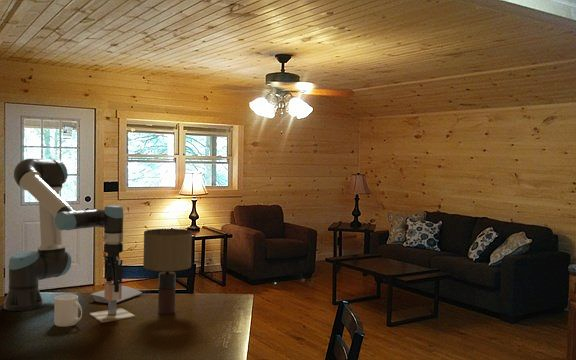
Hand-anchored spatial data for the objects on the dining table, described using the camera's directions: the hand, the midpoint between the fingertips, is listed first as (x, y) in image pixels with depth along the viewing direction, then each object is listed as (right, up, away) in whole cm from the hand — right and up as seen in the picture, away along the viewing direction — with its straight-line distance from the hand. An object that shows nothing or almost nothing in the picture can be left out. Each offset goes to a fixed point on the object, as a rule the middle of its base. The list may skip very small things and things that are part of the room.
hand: (112, 298), depth 225 cm
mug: (-13, -8, -13) cm, 20 cm away
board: (0, -7, 0) cm, 7 cm away
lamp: (+21, -8, +8) cm, 24 cm away
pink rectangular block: (0, 0, 0) cm, 0 cm away
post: (0, -7, 0) cm, 7 cm away
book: (-8, -7, +29) cm, 31 cm away
